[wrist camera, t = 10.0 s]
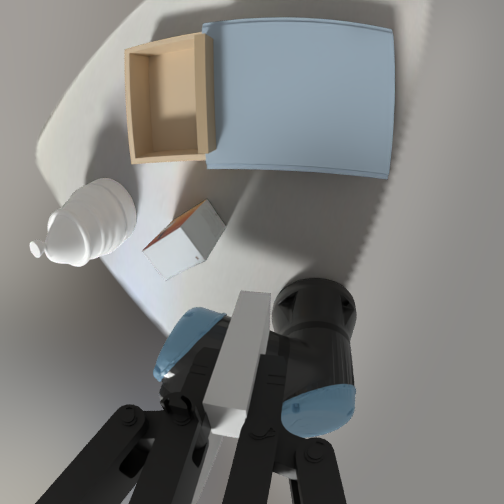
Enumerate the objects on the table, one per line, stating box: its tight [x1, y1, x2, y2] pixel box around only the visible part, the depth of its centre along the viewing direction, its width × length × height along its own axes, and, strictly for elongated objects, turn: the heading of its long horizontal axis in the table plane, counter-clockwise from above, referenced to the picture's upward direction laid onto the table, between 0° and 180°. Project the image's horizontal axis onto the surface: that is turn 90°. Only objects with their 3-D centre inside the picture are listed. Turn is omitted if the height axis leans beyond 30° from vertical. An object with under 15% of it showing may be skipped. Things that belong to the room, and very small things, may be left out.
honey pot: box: [30, 178, 137, 267], centre depth 39 cm, size 13×13×18 cm
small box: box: [142, 199, 226, 281], centre depth 40 cm, size 8×6×10 cm
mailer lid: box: [194, 17, 395, 179], centre depth 27 cm, size 19×22×6 cm
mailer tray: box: [125, 32, 206, 164], centre depth 32 cm, size 17×22×6 cm
